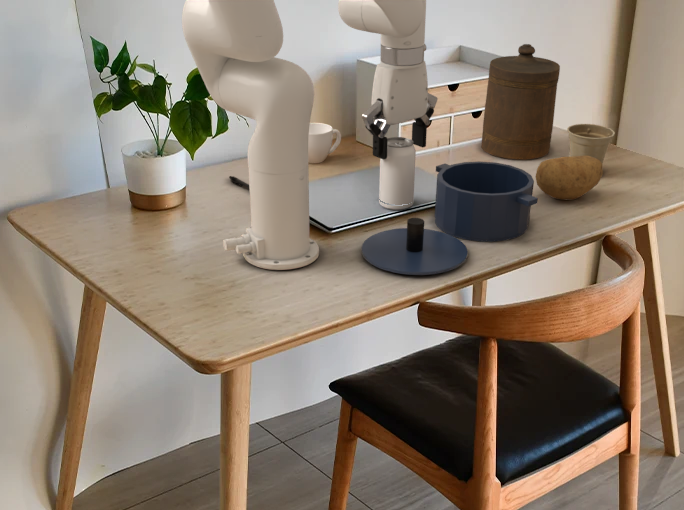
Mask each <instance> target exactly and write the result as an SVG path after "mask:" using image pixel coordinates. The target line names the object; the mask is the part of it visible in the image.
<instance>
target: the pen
mask: <svg viewBox="0 0 684 510" xmlns="http://www.w3.org/2000/svg"><path fill="white" fill-rule="evenodd" d="M228 179H229V181H230V183H232V184H234V185H237V186H240V187H243V188H244V189H246V190H248V191H250V189H249V183H247V182H245V181H243V180H241V179H239V178H238V177H236V176H234V175H233V176H232V175H230V176H229V178H228Z"/></svg>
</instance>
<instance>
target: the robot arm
mask: <svg viewBox="0 0 684 510" xmlns="http://www.w3.org/2000/svg"><path fill="white" fill-rule="evenodd" d="M337 10H338V15H339V17H340V19H341V20H342V21H343V23H344V24H345V25H347V26H348V27H350V28H352V29H354V30H357V31H361V32H367V33H372V34H378V35H380V55H379V57H380V60H379V61H380V63H377V64H376V67H375V70H374V71H375V72H374V76H373V83H372V92H371V102H370V103H371V105H370V106H369V108H368V109H367V110H365V111H364V112H363V113H362V115H361V119H362V121H363V123H364V126H365V129H366V130H367V131H368V132H369V134H370V135H371V136H372V156H373V157H375V158H378V159H380V158H381V159H383V160H384V159H386V158H387V138H388V137H387V136H386V135H387V133H388V131H389V129H390V128H391V126H395V125H398V124H402V123H405V122H409V121H413V122H412V126H411V140H413V141H414V144H413V145H414V146H417V147H420V148H422V149H423V148H425V147H427V129H428V126H429V125H430V124H431V120H430V119H431V118H432V116H433V115H434V113H435V108H436V105H437V103H438V99H439V98H438V96H435V95H434V94H432V93H430V92H429V85H428V71H427V70H428V69H427V63H426V61H425V52H426V51H427V45H426V43H425V41H426V15H427V0H338V4H337ZM181 26H182V32H183V37H184V40H185V43H186V45H187V47H188V50H189V52H190V54H191V56H192V58H193V61H194V63H195V65H196V67H197V70H198V72H199V74H200V76H201V79H202V81H203V82H204V86H205V88H206V90H207V92H208V93H209V95H210V97H211V98H212V100H213V101H214V103H215V104H217V106H219V107H220V108H221V109H223V110H225V111H227V112H230V113H233V114H235V115H240V116H242V117H245V118H249V119H252V120H254V121H255V122H256V124H255V128H254V130H253V132H252V134H251V137H250V140H249V142H248V146H247V166H248V168H247V169H248V184H249V189H250V190H249V207H250V209H249V210H250V226H249V227H245V233H243V234H241V235H240V236H237V237H230V238H224V239H223V240H222V245H223V249H224V251H225V252H229V251H233V250H235V252H236V254H237V255H241V254H242V255H243V258H244V260H245V261H246V262H247V263H249V264H250V265H252V266H255V267H257V268H261V269H265V270H273V271H289V270H294V269H299V268H302V267H306V266H308V265H311V264H312V263H314V262H315V261H316V260H317V259H318V258H319V255H320V247H319V244H318V243H317V242H316V241H315V240H314V239H312V238H310V178H309V177H310V171H309V168H310V167H309V162H308V137H309V125H310V123H311V118H312V114H313V113H312V112H313V107H314V101H315V86H314V83H313V80H312V78H311V76H310V75H309V73H308V72H307V71H306V70H305V69H304V68H302V67H301V66H300V65H299V64H297V63H294V62H293V61H290V60H287V59H283V58H279V57H276V56H277V55H278V54H279V53H280V51H281V49H282V47H283V44H284V30H283V23H282V21H281V18H280V15H279V12H278V9H277V5H276V3H275V0H185V1H184V3H183V8H182V12H181ZM381 125H382V126H381Z"/></svg>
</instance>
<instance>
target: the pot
mask: <svg viewBox="0 0 684 510" xmlns="http://www.w3.org/2000/svg"><path fill="white" fill-rule="evenodd" d="M435 172H436V173H437V175H436V186H435V203H434V205H435V206H434V223H435V225H436V227H437V228H438V229H439V230H441V232H443V233H446V234H449V235H451V236H453V237H455V238H457V239H462V240H467V241H474V242H492V243H493V242H502V241H508V240H509V241H510V240H512V239H515V238H519V237H520V236H522V235H524V234H525V233H526V231H527V230H528V227H529V225H530V217H531V210H532V206H534V205H536V204H538V202H539V197H537V196H533V193H534V184H535V180H534V178H533V176H532V174H531V173H529V172H527V171H526V170H524V169H522V168H519V167H516V166H513V165H512V164H511V165H510V164H505V163H501V162H500V163H499V162H494V161H491V162H490V161H479V160H477V161H463V162H458V163H452V164H449V163H448V164H447V163H442V164H439V165H436V166H435Z"/></svg>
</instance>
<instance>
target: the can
mask: <svg viewBox="0 0 684 510" xmlns="http://www.w3.org/2000/svg"><path fill="white" fill-rule="evenodd" d="M416 156H417V152H416V148H415V145H414V141H413V140H412V138H408V137H403V136H392V137H387V158H386V159H384V160H383V159H381V158H379V182H378V183H379V184H378V185H379V188H378V195H379V196H378V203H379V205H380V206H381V207H382V208H383V209H385V210H390V211H405V210H408V209H409V208H411V207H412V206H413V205H414V198H415V197H414V196H415V179H416ZM379 199H380V200H381V201H383V202H385V203H389V204H395V205H402V204H408V205H403V206H391V205H387V204H384V203H382V202H380V200H379ZM411 202H412V203H411ZM409 203H410V204H409Z"/></svg>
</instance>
